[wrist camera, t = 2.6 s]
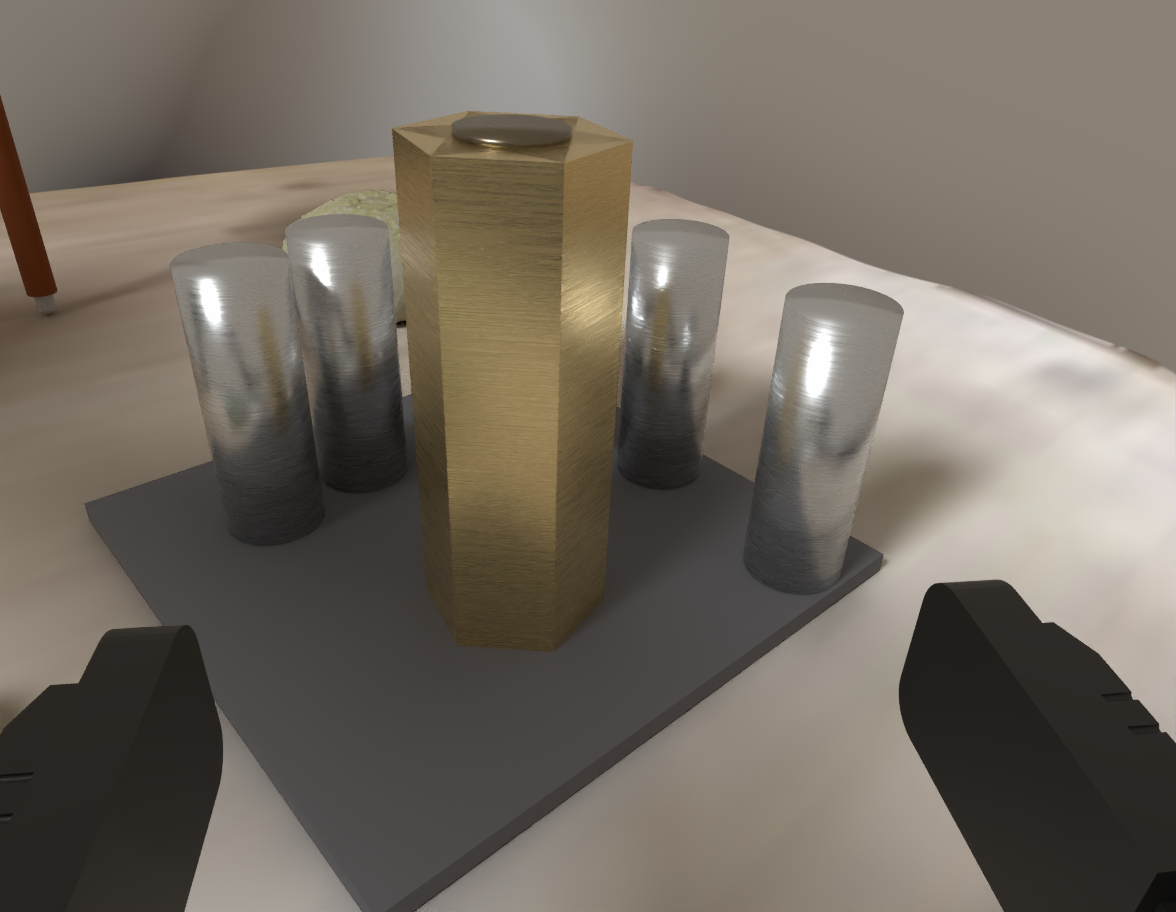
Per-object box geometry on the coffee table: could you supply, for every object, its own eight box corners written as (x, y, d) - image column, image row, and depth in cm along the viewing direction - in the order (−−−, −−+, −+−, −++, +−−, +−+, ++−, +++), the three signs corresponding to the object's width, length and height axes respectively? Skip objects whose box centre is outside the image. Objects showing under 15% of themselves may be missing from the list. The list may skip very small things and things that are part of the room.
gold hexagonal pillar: (625, 627, 23) (664, 146, 17) (473, 677, 21) (452, 163, 15) (547, 526, 27) (555, 98, 20) (412, 562, 25) (374, 108, 19)
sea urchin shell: (499, 232, 47) (470, 145, 39) (477, 374, 45) (442, 314, 37) (331, 218, 47) (270, 131, 40) (303, 357, 46) (233, 295, 38)
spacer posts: (182, 481, 28) (122, 233, 24) (532, 362, 36) (533, 162, 32) (492, 828, 18) (483, 505, 14) (878, 553, 26) (947, 299, 22)
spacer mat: (89, 519, 27) (84, 503, 27) (525, 369, 37) (524, 356, 37) (379, 935, 17) (376, 917, 16) (879, 570, 26) (883, 554, 26)
